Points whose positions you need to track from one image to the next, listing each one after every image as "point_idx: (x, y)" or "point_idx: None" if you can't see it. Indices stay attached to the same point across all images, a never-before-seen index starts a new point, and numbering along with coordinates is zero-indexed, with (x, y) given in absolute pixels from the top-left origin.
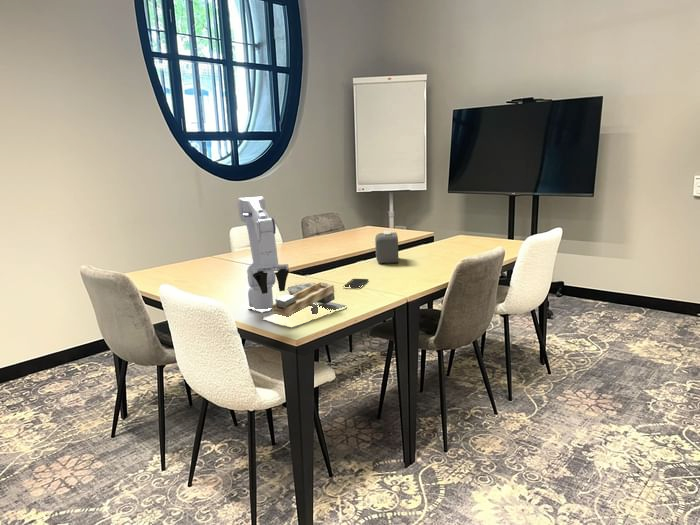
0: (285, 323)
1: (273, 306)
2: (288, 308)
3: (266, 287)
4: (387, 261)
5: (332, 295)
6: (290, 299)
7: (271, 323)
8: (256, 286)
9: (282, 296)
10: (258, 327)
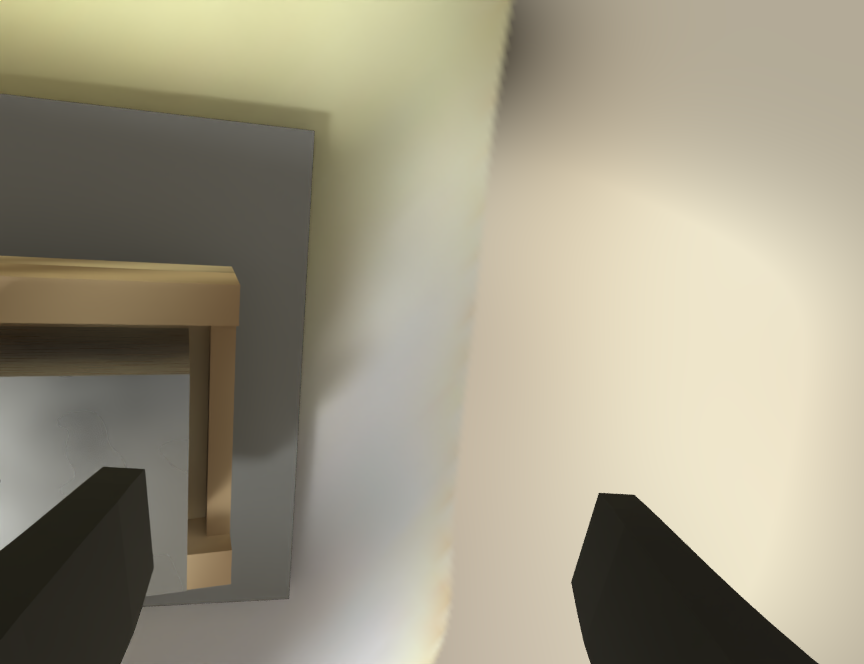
0: None
1: (229, 544)
2: (193, 281)
3: (680, 567)
4: None
5: None
6: (37, 371)
7: (308, 432)
8: None
9: None
10: (456, 444)
